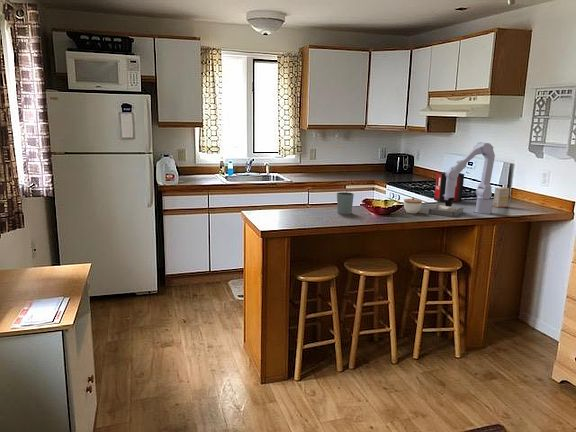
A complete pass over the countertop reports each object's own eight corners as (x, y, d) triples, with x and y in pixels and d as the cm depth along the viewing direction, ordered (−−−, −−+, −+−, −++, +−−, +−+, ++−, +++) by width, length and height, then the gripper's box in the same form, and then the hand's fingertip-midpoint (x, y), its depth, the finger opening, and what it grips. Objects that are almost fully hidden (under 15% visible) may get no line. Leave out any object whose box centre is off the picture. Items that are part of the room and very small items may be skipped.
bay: (463, 212, 304) (463, 207, 303) (454, 217, 287) (454, 212, 287) (438, 208, 312) (439, 204, 312) (428, 213, 296) (429, 208, 295)
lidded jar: (404, 210, 305) (405, 195, 303) (421, 211, 301) (423, 197, 299) (401, 213, 295) (403, 198, 293) (419, 214, 291) (421, 199, 289)
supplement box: (502, 205, 331) (504, 187, 328) (507, 207, 327) (509, 188, 324) (492, 206, 328) (494, 187, 326) (497, 207, 324) (499, 188, 321)
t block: (455, 213, 299) (456, 207, 298) (450, 216, 291) (451, 209, 290) (439, 211, 304) (440, 205, 303) (434, 213, 296) (435, 207, 295)
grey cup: (350, 215, 283) (351, 195, 281) (333, 213, 287) (334, 193, 284) (354, 212, 293) (355, 192, 290) (338, 210, 296) (339, 191, 294)
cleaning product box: (439, 202, 339) (442, 173, 335) (433, 199, 347) (436, 172, 343) (461, 202, 341) (464, 174, 337) (455, 199, 350) (458, 172, 346)
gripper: (447, 186, 308) (445, 207, 310) (440, 189, 296) (438, 210, 299) (458, 187, 304) (456, 208, 307) (451, 190, 292) (449, 212, 295)
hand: (448, 209), depth 302 cm, fingers closed
